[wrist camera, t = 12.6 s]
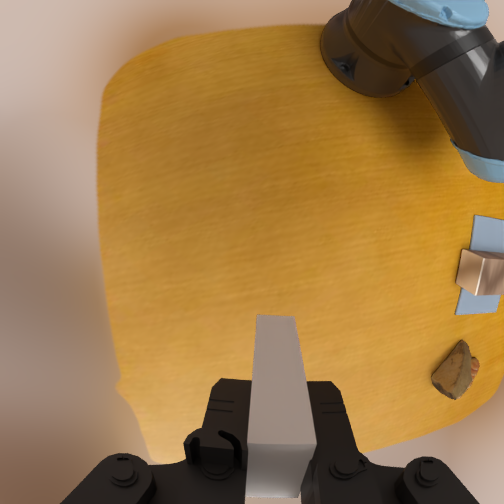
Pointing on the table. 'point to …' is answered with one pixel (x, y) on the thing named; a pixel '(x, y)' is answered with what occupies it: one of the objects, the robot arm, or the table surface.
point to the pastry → (473, 370)
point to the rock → (454, 372)
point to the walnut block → (481, 272)
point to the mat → (482, 239)
